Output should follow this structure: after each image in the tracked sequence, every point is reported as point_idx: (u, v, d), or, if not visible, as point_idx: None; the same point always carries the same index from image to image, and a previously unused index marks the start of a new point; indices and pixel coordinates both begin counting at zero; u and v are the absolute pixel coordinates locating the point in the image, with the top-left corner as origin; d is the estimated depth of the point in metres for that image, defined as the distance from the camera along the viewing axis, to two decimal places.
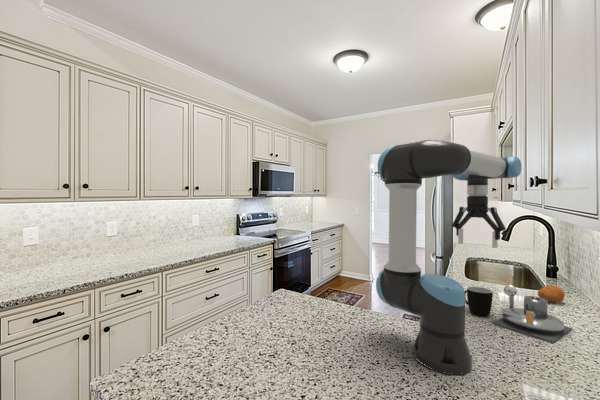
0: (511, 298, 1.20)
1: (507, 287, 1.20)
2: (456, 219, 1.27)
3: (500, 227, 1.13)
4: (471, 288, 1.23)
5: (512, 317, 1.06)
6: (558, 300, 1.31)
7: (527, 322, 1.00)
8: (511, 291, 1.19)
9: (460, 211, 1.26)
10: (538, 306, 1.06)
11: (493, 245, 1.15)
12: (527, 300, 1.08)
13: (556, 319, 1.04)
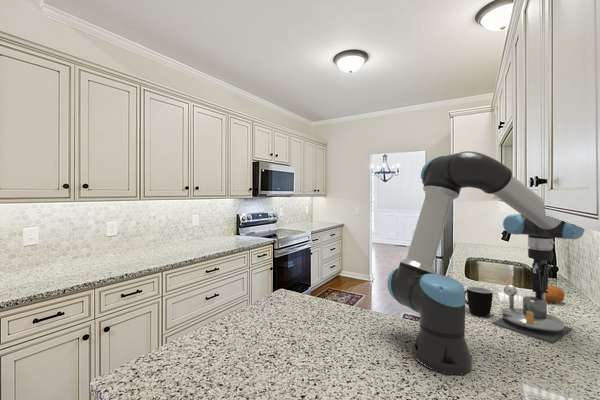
0: (511, 298, 1.20)
1: (507, 287, 1.20)
2: None
3: None
4: (471, 288, 1.23)
5: (512, 317, 1.06)
6: (558, 300, 1.31)
7: (527, 322, 1.00)
8: (511, 291, 1.19)
9: None
10: (537, 306, 1.05)
11: None
12: (526, 300, 1.08)
13: (556, 319, 1.04)
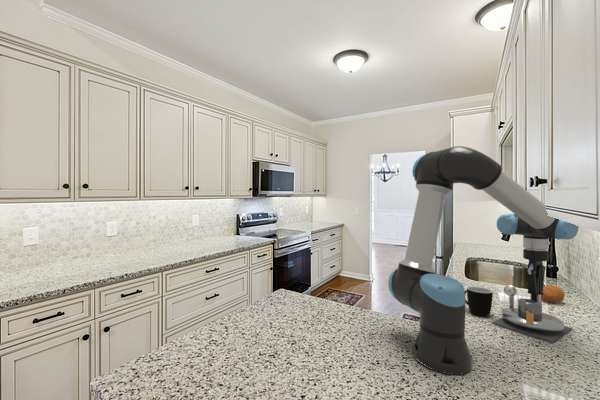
0: (511, 298, 1.20)
1: (507, 287, 1.20)
2: None
3: None
4: (471, 288, 1.23)
5: (512, 317, 1.06)
6: (558, 300, 1.31)
7: (527, 322, 1.00)
8: (511, 291, 1.19)
9: None
10: (532, 309, 1.03)
11: None
12: (521, 303, 1.05)
13: (556, 319, 1.04)
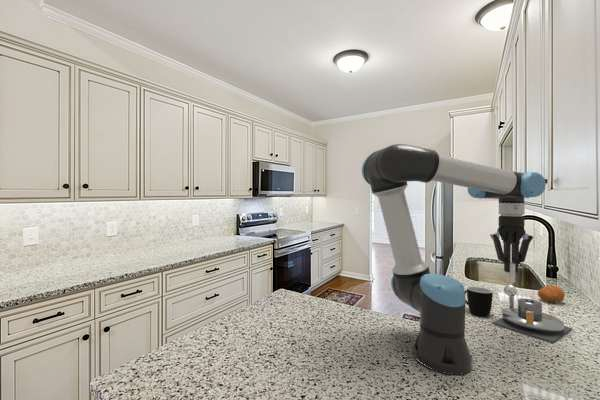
0: (511, 298, 1.20)
1: (507, 287, 1.20)
2: None
3: None
4: (471, 288, 1.23)
5: (512, 317, 1.06)
6: (558, 300, 1.31)
7: (527, 322, 1.00)
8: (511, 291, 1.19)
9: None
10: (532, 309, 1.03)
11: None
12: (521, 303, 1.05)
13: (556, 319, 1.04)
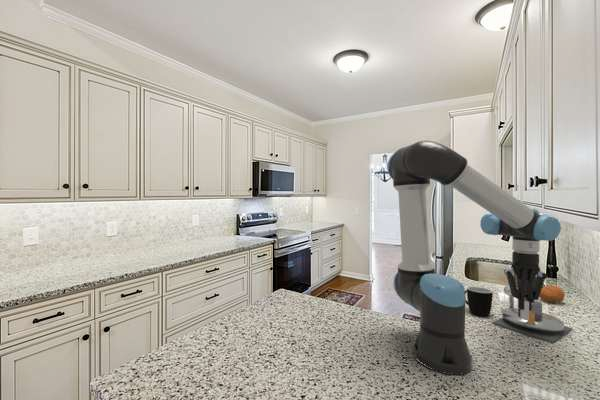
0: (511, 298, 1.20)
1: (507, 287, 1.20)
2: None
3: None
4: (471, 288, 1.23)
5: (513, 317, 1.05)
6: (558, 300, 1.31)
7: (528, 322, 1.00)
8: None
9: None
10: (533, 309, 1.02)
11: None
12: None
13: (555, 319, 1.05)
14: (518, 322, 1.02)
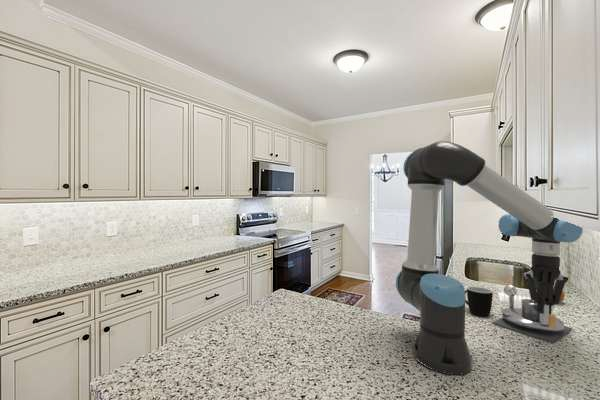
0: (511, 298, 1.20)
1: (507, 287, 1.20)
2: None
3: None
4: (471, 288, 1.23)
5: (529, 322, 1.01)
6: None
7: (550, 326, 0.98)
8: (511, 291, 1.19)
9: None
10: None
11: None
12: (533, 305, 1.02)
13: None
14: (540, 327, 0.98)
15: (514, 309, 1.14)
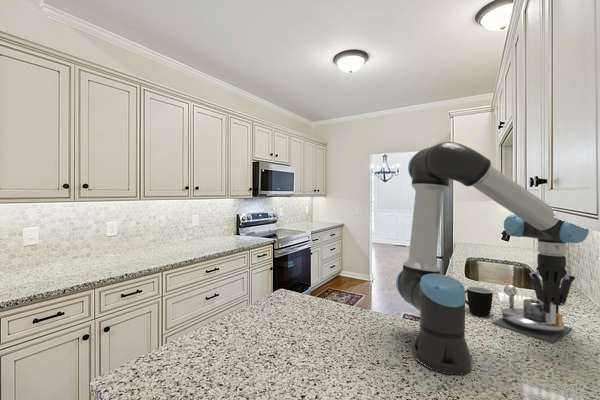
0: (511, 298, 1.20)
1: (507, 287, 1.20)
2: None
3: None
4: (471, 288, 1.23)
5: (540, 324, 0.99)
6: None
7: (559, 325, 0.98)
8: (511, 291, 1.19)
9: None
10: None
11: None
12: (539, 306, 1.02)
13: None
14: (551, 328, 0.98)
15: (509, 310, 1.13)
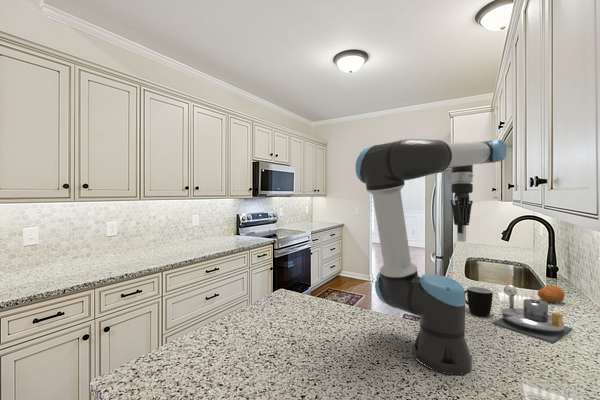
0: (511, 298, 1.20)
1: (507, 287, 1.20)
2: None
3: None
4: (471, 288, 1.23)
5: (540, 324, 0.99)
6: (558, 300, 1.31)
7: (559, 325, 0.98)
8: (511, 291, 1.19)
9: None
10: (547, 309, 1.02)
11: None
12: (539, 306, 1.02)
13: None
14: (551, 328, 0.98)
15: (509, 310, 1.13)
